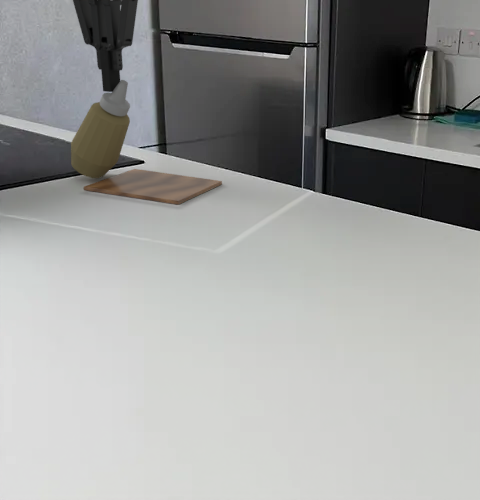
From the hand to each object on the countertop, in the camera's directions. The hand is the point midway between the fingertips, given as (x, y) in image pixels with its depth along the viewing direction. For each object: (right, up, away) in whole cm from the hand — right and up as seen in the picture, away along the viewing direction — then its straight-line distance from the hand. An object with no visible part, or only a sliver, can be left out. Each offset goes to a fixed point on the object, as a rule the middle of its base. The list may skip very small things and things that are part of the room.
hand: (112, 90), depth 113 cm
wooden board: (+6, -16, +3) cm, 17 cm away
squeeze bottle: (-7, -12, +7) cm, 16 cm away
